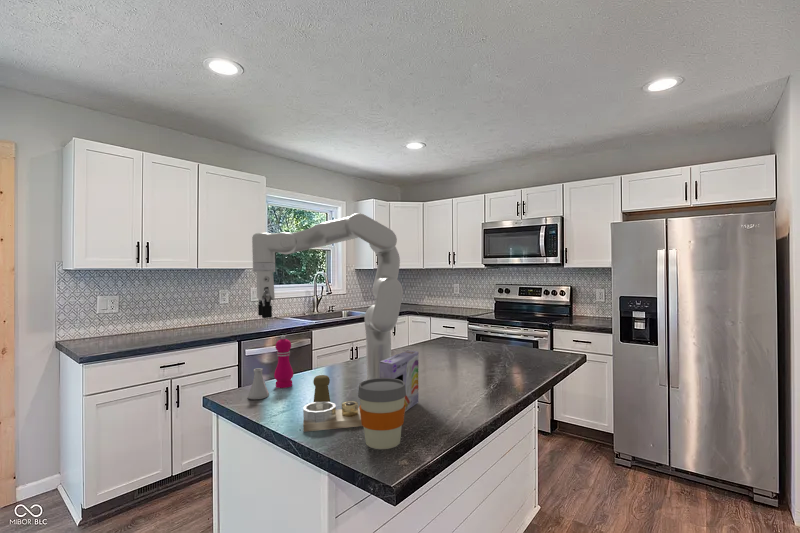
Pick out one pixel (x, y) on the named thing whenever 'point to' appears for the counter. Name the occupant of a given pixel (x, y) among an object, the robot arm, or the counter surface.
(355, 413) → the narrow brass collar
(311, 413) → the wide steel collar
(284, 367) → the pepper mill
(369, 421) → the reusable coffee cup
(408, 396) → the cake pan box
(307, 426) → the fitting board
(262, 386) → the flask
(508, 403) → the counter surface
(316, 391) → the cork
